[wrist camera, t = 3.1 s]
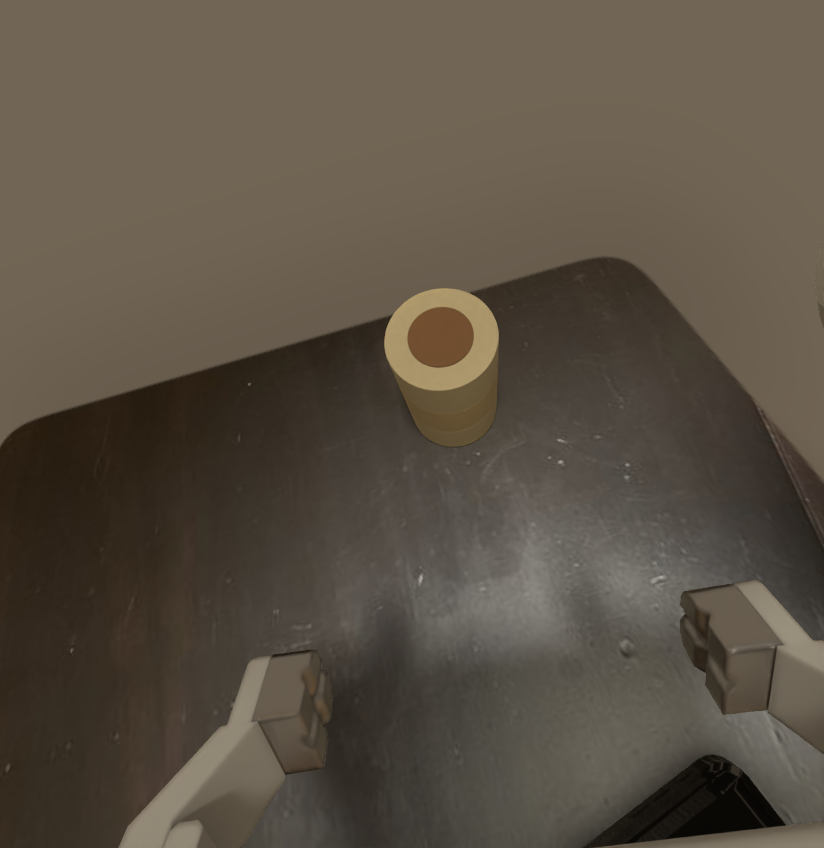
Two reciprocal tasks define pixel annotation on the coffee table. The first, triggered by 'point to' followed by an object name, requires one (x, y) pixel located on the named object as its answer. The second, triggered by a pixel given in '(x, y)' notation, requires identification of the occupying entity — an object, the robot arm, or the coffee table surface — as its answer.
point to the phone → (695, 807)
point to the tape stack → (446, 364)
